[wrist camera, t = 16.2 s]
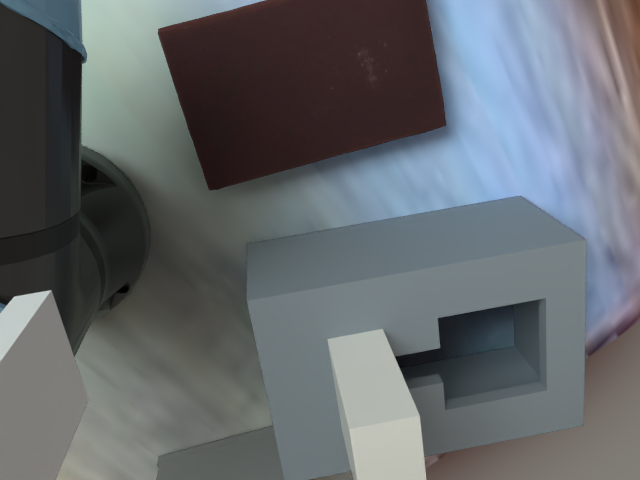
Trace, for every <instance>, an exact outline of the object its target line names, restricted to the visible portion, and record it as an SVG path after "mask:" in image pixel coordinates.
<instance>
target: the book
mask: <svg viewBox="0 0 640 480" xmlns="http://www.w3.org/2000/svg"><path fill="white" fill-rule="evenodd" d="M158 35H159V39H160V42H161V45H162V48H163V51H164V54H165V57H166V60H167V64H168V67H169V70H170V73H171V76H172V79H173V83H174V86H175V89H176V92H177V95H178V98H179V102H180V105H181V107H182V110H183V113H184V116H185V119H186V122H187V126H188V129H189V132H190V135H191V137H192V140H193V143H194V146H195V149H196V152H197V155H198V158H199V161H200V164H201V166H202V169H203V173H204V176H205V179H206V182H207V185H208V188H209V190H218V189H221V188H224V187H227V186H230V185H234V184H238V183H241V182H245V181H249V180H252V179H256V178H259V177H263V176H266V175H270V174H273V173H277V172H280V171H284V170H288V169H292V168H295V167H299V166H303V165H306V164H310V163H313V162H317V161H320V160H323V159H327V158H330V157H334V156H337V155H341V154H345V153H349V152H353V151H357V150H360V149H364V148H368V147H371V146H375V145H378V144H382V143H386V142H389V141H393V140H396V139H400V138H403V137H407V136H412V135H416V134H420V133H424V132H427V131H431V130H434V129H437V128H440V127H443V126H445V125H446V120H445V111H444V104H443V97H442V91H441V85H440V79H439V73H438V68H437V62H436V55H435V51H434V46H433V40H432V33H431V28H430V22H429V16H428V11H427V4H426V0H266V1H262V2H258V3H254V4H251V5H247V6H243V7H240V8H236V9H233V10H230V11H226V12H222V13H217V14H213V15H210V16H206V17H202V18H199V19H195V20H191V21H187V22H183V23H179V24H175V25H171V26H167V27H164V28H160V29H158Z"/></svg>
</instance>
